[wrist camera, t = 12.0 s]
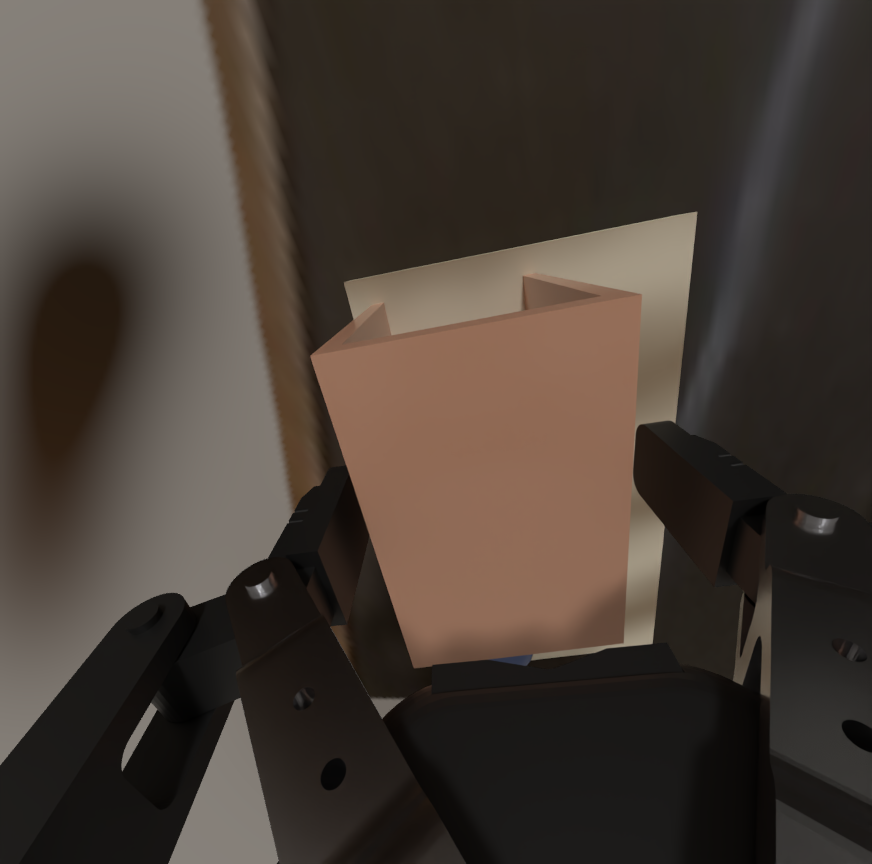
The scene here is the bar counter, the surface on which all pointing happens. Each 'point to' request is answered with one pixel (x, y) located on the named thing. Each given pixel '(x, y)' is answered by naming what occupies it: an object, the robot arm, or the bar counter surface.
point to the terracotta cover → (495, 468)
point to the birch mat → (504, 293)
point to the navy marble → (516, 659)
